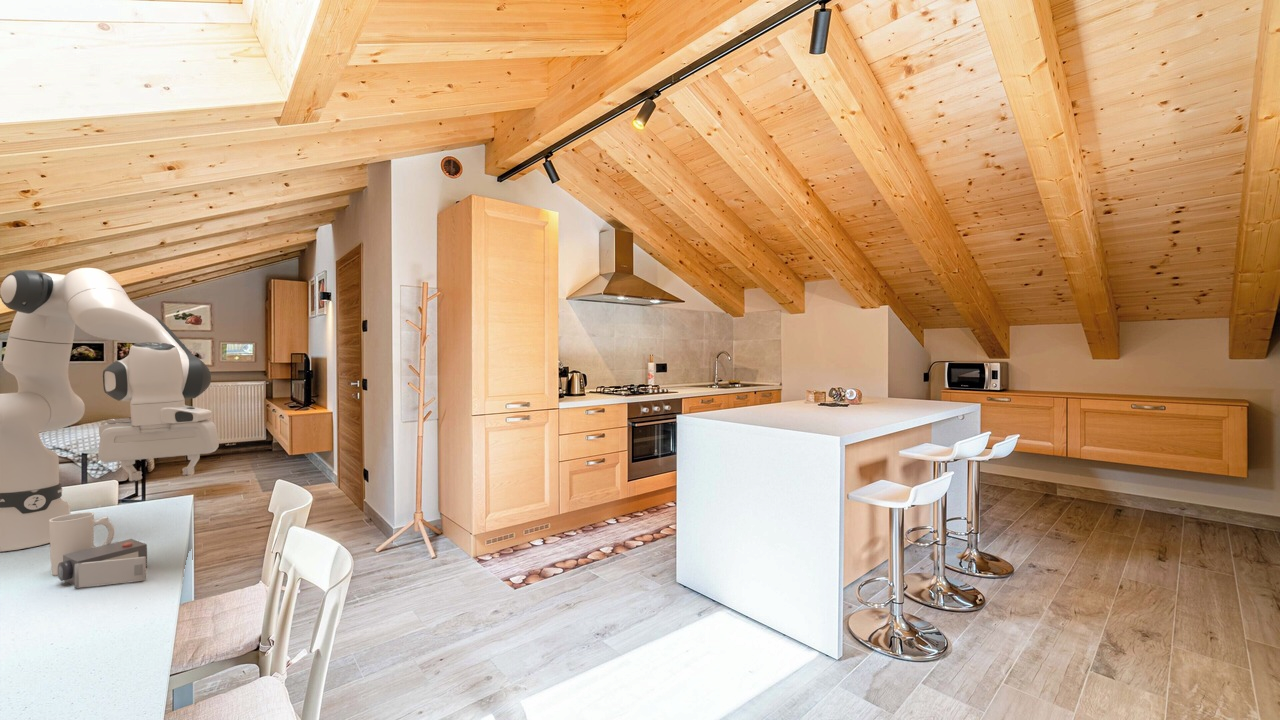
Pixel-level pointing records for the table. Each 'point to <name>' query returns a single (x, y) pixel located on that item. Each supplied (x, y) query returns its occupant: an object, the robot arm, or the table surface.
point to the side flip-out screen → (110, 572)
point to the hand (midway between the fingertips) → (162, 477)
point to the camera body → (100, 556)
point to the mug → (74, 535)
